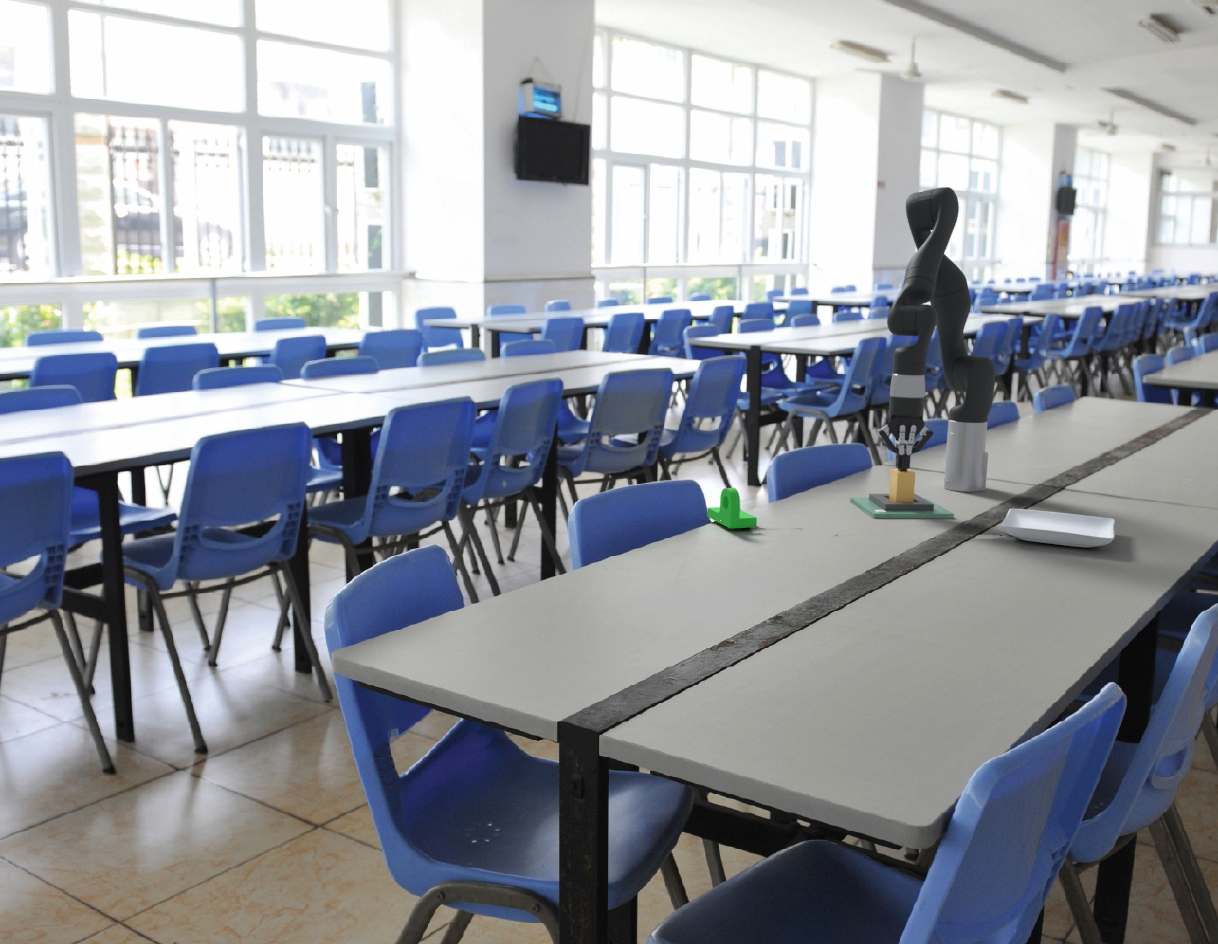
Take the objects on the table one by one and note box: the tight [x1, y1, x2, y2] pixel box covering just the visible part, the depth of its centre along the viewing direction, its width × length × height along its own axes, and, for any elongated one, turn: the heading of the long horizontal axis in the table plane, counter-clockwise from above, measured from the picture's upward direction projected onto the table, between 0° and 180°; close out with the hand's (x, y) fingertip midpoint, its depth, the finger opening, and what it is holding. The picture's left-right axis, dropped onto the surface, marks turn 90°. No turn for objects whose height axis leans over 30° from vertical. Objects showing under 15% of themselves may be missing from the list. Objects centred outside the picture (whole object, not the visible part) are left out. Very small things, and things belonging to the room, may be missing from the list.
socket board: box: [849, 493, 955, 519], centre depth 255 cm, size 18×18×2 cm
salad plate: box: [1000, 508, 1116, 548], centre depth 233 cm, size 21×21×3 cm
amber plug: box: [888, 468, 916, 502], centre depth 255 cm, size 4×5×8 cm
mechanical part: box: [707, 487, 758, 529], centre depth 240 cm, size 12×6×8 cm, turn 18°
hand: (902, 470), depth 254 cm, fingers closed
